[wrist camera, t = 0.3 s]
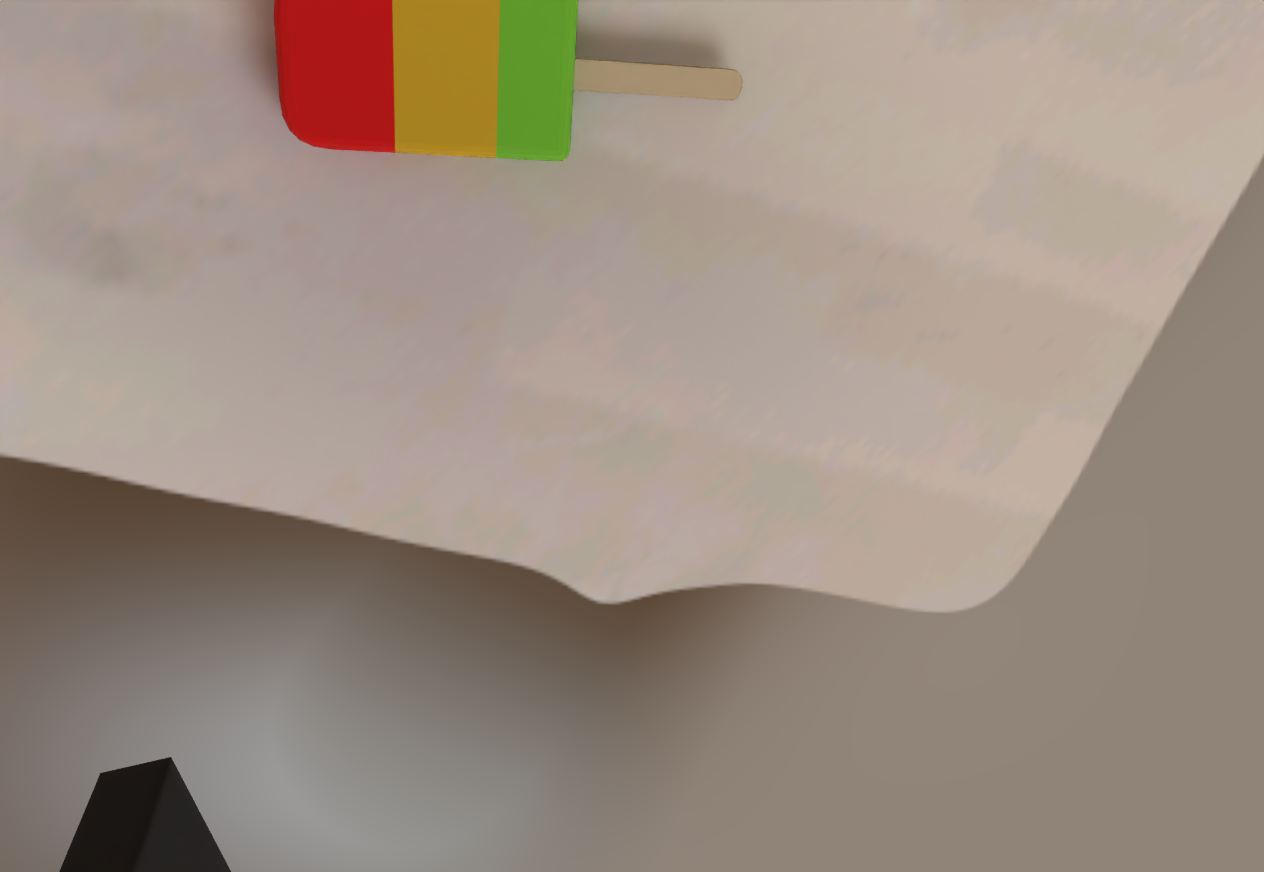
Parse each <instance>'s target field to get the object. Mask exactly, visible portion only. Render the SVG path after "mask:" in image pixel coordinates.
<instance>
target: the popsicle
mask: <svg viewBox="0 0 1264 872" xmlns="http://www.w3.org/2000/svg"><path fill="white" fill-rule="evenodd" d="M577 13H578V0H274V24H275V39H276V53H277V68H278V83H279V97H280V103H281V109H282V115H283V118H284V120H285V122H286V124H287V126H288V128H289V130H290V131H291V132H292V133H293V134H294V135H295V136H296V137H297V138H298V139H299V140H301V141H303V142H305V143H307V144H310V145H312V146H314V147H321V148H327V149H337V150H356V151H374V152H393V153H412V154H431V155H450V156H469V157H487V158H506V159H525V160H544V161H563V160H564V159H566V158H567V157H568V155H569V151H570V139H571V121H572V103H573V90H579V91H595V92H610V93H625V94H641V95H656V96H672V97H687V98H703V99H718V100H733V99H736V98H737V97H738V96H739V95H740V93H741V89H742V76H741V74H740V73H739V72H737V71H735V70H733V69H723V68H709V67H695V66H680V65H666V64H652V63H637V62H623V61H609V60H595V59H580V58H575V49H576V31H577Z"/></svg>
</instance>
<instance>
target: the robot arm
mask: <svg viewBox="0 0 1264 872" xmlns="http://www.w3.org/2000/svg"><path fill="white" fill-rule="evenodd" d="M60 872H231V871H230V869H229V867H228V865H227V863H226V861H225V859H224V858H223V855H222V854H221V852H220V850H219V848H218V846H217V844H216V842H215V841H214V838H213V836H212V834H211V833H210V831H209V829H208V827H207V825H206V823H205V821H204V819H203V817H202V816H201V813H200V812H199V810H198V808H197V806H196V804H195V802H194V800H193V798H192V796H191V795H190V793H189V791H188V789H187V787H186V785H185V783H184V781H183V779H182V777H181V775H180V773H179V772H178V770H177V768H176V766H175V764H174V762H173V760H172V758H171V757H169V758H165V759H161V760H156V761H152V762H147V763H143V764H139V765H135V766H130V767H125V768H121V769H117V770H112V771H108V772H103V773H100V776H99V778H98V780H97V783H96V786H95V788H94V790H93V792H92V795H91V797H90V800H89V802H88V805H87V807H86V809H85V812H84V814H83V817H82V819H81V822H80V824H79V826H78V828H77V831H76V833H75V836H74V838H73V840H72V843H71V845H70V848H69V850H68V852H67V855H66V857H65V860H64V862H63V865H62V867H61V869H60Z"/></svg>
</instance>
